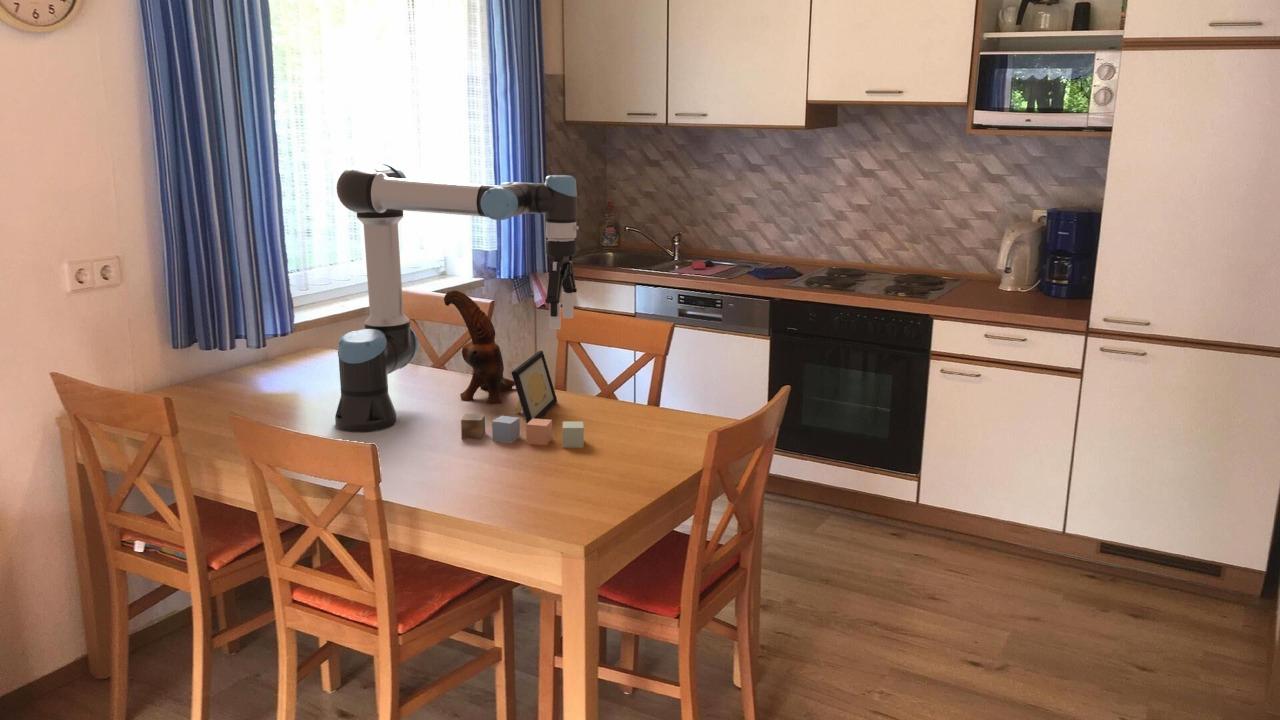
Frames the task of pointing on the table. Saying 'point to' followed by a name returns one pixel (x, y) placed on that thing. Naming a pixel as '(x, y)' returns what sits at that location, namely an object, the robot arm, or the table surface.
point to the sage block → (573, 434)
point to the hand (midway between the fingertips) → (561, 323)
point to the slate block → (506, 429)
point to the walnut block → (473, 426)
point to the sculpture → (480, 350)
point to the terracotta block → (539, 431)
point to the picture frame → (534, 387)
